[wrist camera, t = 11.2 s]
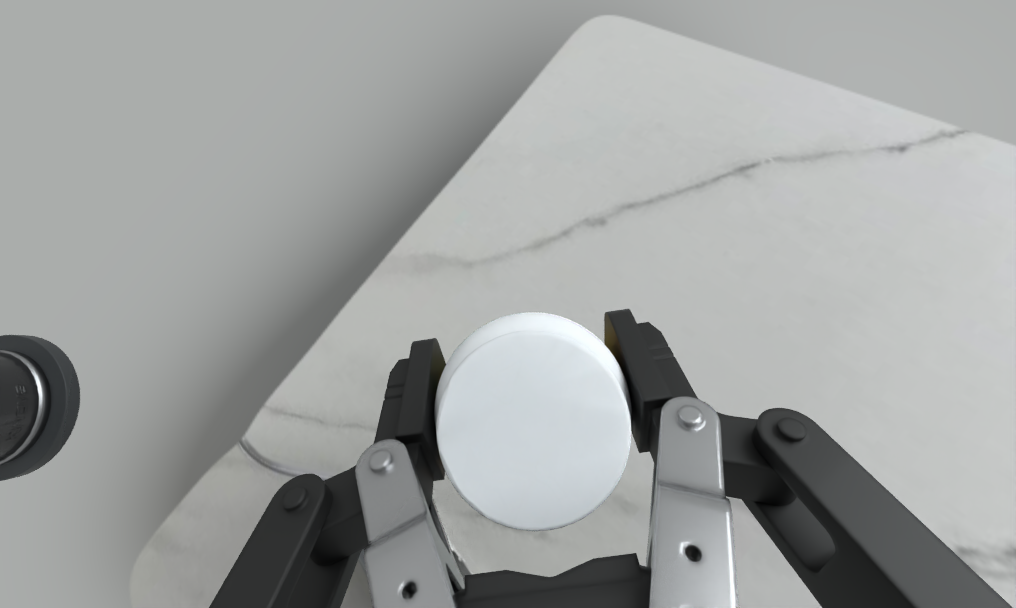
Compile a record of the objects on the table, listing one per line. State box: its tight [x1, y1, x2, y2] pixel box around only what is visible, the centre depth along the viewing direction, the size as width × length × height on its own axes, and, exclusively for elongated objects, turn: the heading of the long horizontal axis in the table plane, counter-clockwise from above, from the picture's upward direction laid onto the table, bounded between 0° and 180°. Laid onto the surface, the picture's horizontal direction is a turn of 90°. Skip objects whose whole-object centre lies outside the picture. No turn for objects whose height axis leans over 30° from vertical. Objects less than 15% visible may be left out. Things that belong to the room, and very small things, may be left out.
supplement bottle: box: [434, 312, 632, 531], centre depth 13 cm, size 5×5×10 cm
